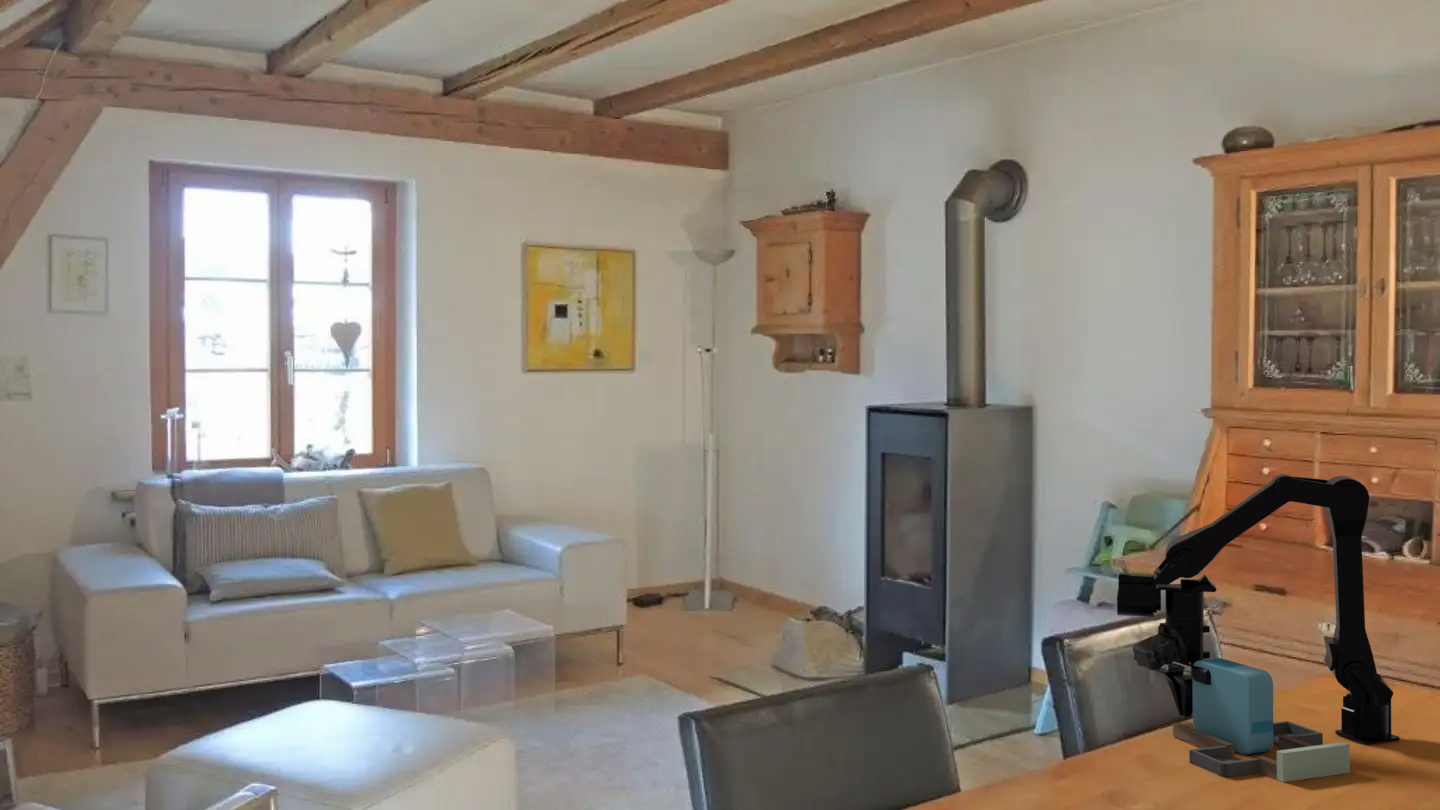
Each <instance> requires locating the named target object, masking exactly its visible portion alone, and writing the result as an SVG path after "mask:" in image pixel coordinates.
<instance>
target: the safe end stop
mask: <svg viewBox="0 0 1440 810" xmlns="http://www.w3.org/2000/svg"><path fill="white" fill-rule="evenodd" d="M1350 752H1351V751H1350V743H1347V742H1344V741H1341V742H1340V741H1339V742H1333V743H1324V744H1323V745H1317V746H1309V747H1302V748H1294V749H1287V750H1279V749H1278V750H1276V761H1277V779H1276V781H1279V782H1282V783H1288V782H1294V781H1300V780H1301V781H1302V780H1307V779H1308V780H1309V779H1315V778H1323V777H1329V776H1336V775H1337V776H1338V775H1343V774H1350V772H1351V771H1350V770H1351V769H1350V766H1351V763H1350V760H1351V759H1350V755H1351V754H1350Z"/></svg>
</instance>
